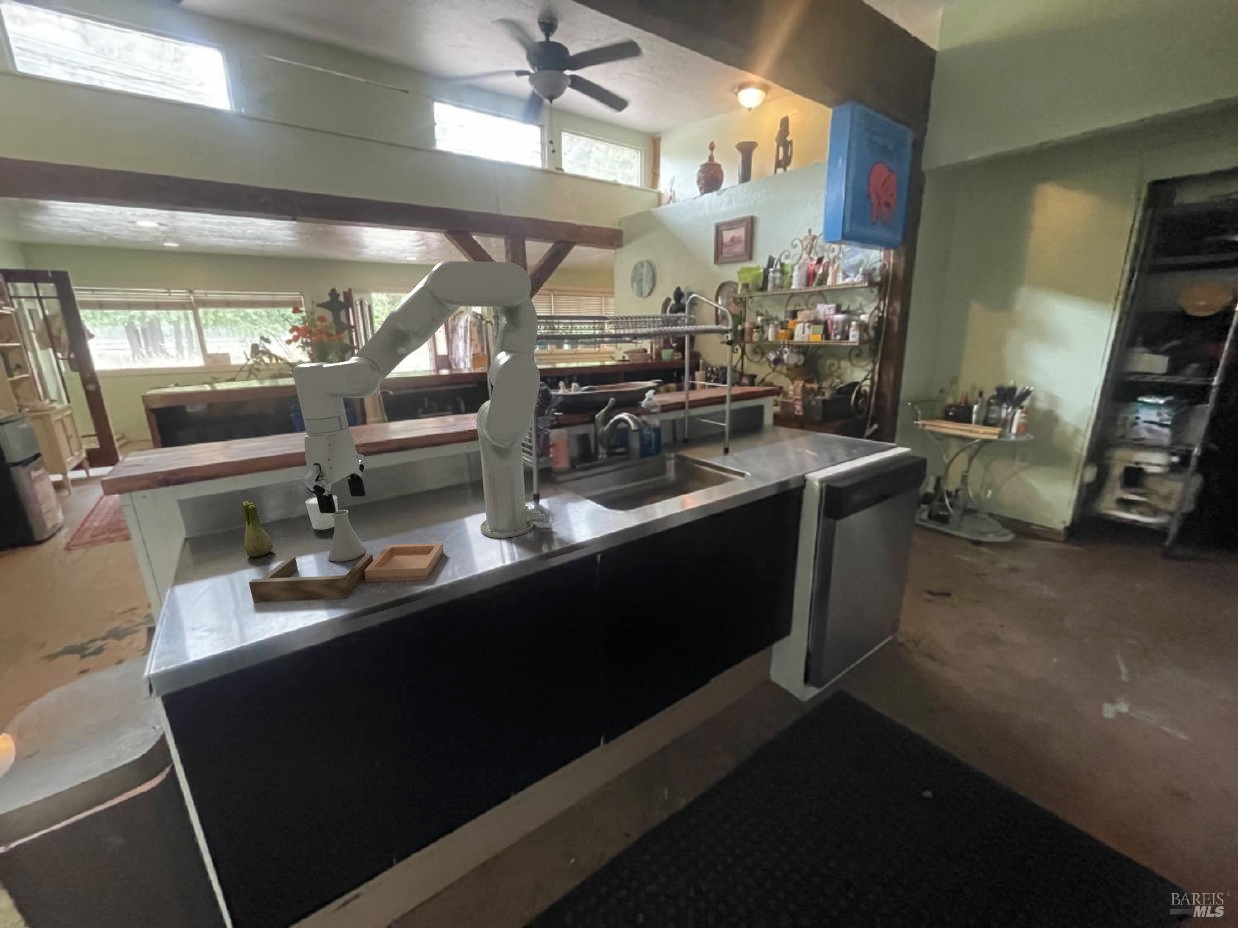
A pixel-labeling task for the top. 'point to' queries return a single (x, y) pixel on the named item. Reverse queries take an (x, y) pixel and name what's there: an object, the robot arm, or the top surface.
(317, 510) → the white tapered cylinder
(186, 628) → the top surface
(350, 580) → the bay
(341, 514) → the flask
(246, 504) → the fennel bulb
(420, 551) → the tray
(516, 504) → the robot arm
